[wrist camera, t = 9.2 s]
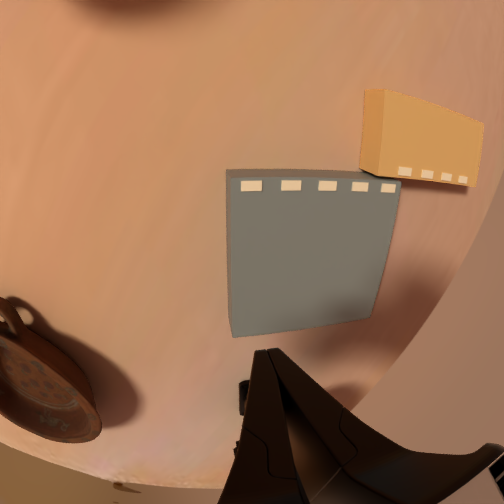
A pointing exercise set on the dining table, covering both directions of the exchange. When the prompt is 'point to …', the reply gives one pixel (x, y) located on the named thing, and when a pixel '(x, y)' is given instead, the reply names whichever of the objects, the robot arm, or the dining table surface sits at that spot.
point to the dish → (43, 385)
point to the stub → (418, 140)
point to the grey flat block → (305, 246)
